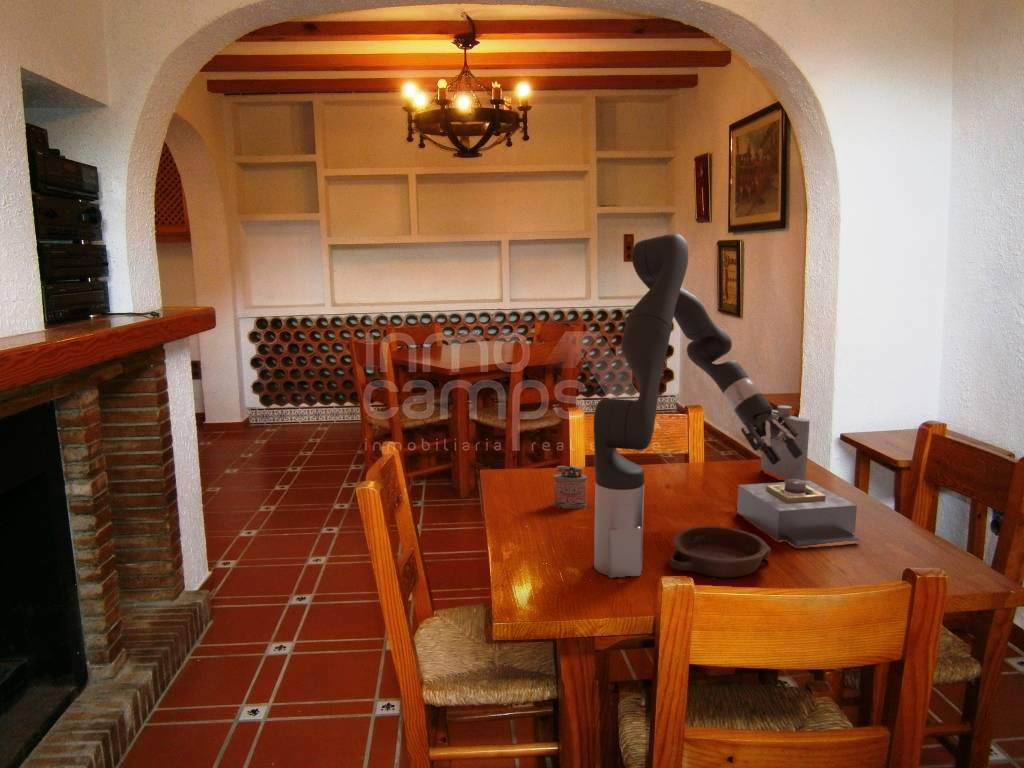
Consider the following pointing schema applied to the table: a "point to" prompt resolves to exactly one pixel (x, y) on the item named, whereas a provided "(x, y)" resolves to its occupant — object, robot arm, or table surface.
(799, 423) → the hip flask
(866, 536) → the table surface
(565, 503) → the lighter
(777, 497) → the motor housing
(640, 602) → the table surface
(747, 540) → the dish
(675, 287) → the robot arm
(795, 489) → the salt shaker
